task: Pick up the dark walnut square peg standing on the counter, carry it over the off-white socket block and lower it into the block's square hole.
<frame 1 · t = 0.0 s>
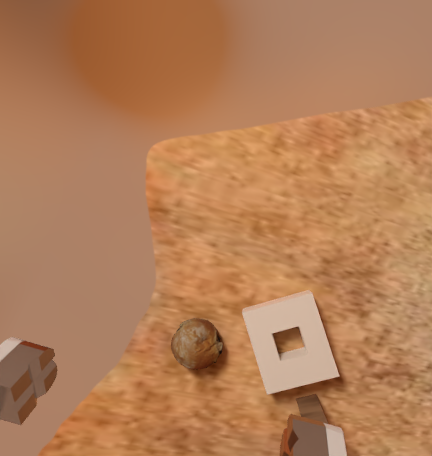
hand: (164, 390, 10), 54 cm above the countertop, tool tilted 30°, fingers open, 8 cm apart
bread roll: (199, 340, 64), on the countertop
walnut peg: (309, 406, 60), on the countertop
socket block: (287, 337, 62), on the countertop
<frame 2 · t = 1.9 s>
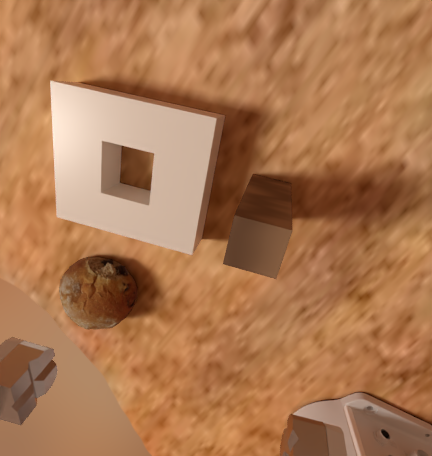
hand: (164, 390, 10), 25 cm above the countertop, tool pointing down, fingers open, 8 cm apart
bread roll: (108, 282, 42), on the countertop
walnut peg: (266, 196, 32), on the countertop
socket block: (143, 165, 34), on the countertop
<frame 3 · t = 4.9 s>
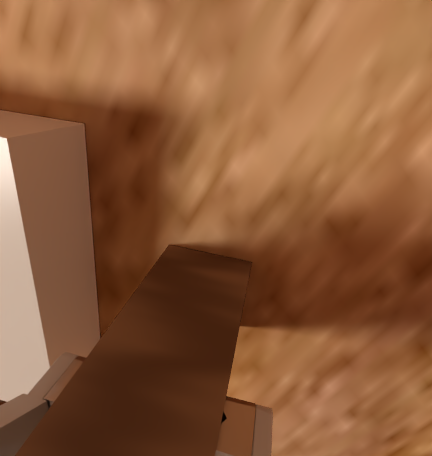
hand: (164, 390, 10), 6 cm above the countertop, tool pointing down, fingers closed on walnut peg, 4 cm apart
walnut peg: (205, 287, 15), on the countertop, touching gripper
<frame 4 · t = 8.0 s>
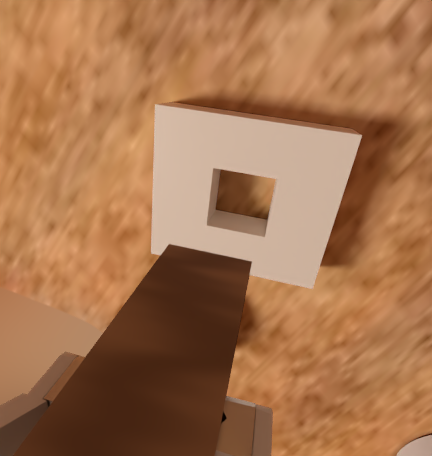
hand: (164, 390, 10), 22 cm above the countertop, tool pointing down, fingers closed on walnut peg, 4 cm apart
walnut peg: (205, 286, 15), point 17 cm above the countertop, touching gripper
socket block: (245, 189, 30), on the countertop
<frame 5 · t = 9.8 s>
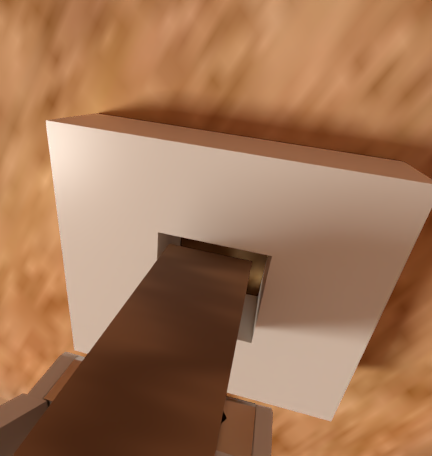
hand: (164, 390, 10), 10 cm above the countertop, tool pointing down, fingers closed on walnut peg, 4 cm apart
walnut peg: (205, 286, 15), point 4 cm above the countertop, touching gripper
socket block: (222, 252, 19), on the countertop
when the fingers open (7 cm above the countertop, at t = 11.1 s): walnut peg stays where it is, resting in socket block.
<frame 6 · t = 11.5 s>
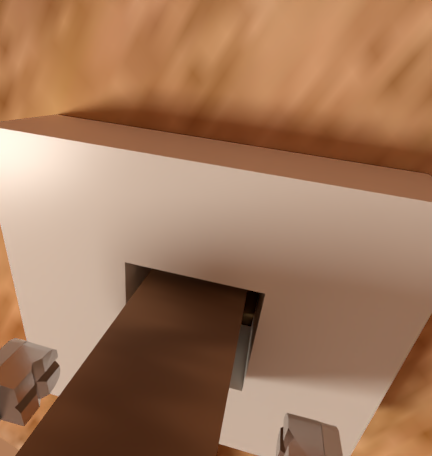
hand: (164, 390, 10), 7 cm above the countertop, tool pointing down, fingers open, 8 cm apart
walnut peg: (210, 275, 16), resting in socket block
socket block: (209, 276, 16), on the countertop
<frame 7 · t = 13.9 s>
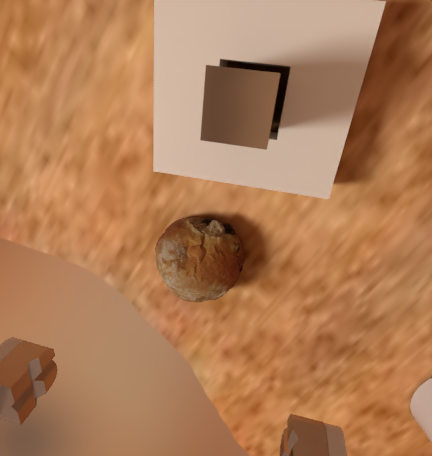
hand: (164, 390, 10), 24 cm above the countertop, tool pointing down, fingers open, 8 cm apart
bread roll: (204, 248, 36), on the countertop
walnut peg: (254, 97, 28), resting in socket block
socket block: (253, 98, 28), on the countertop
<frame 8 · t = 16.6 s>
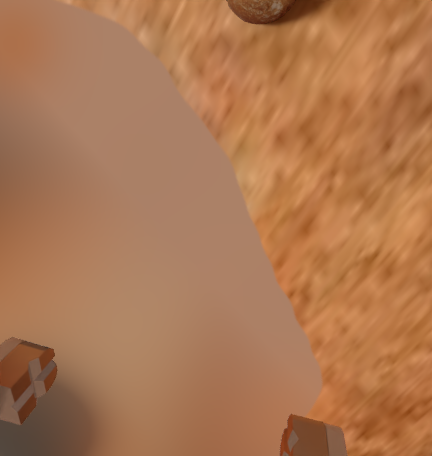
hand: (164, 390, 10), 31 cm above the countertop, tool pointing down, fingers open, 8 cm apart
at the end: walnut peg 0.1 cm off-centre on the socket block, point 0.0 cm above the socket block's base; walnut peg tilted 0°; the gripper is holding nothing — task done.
